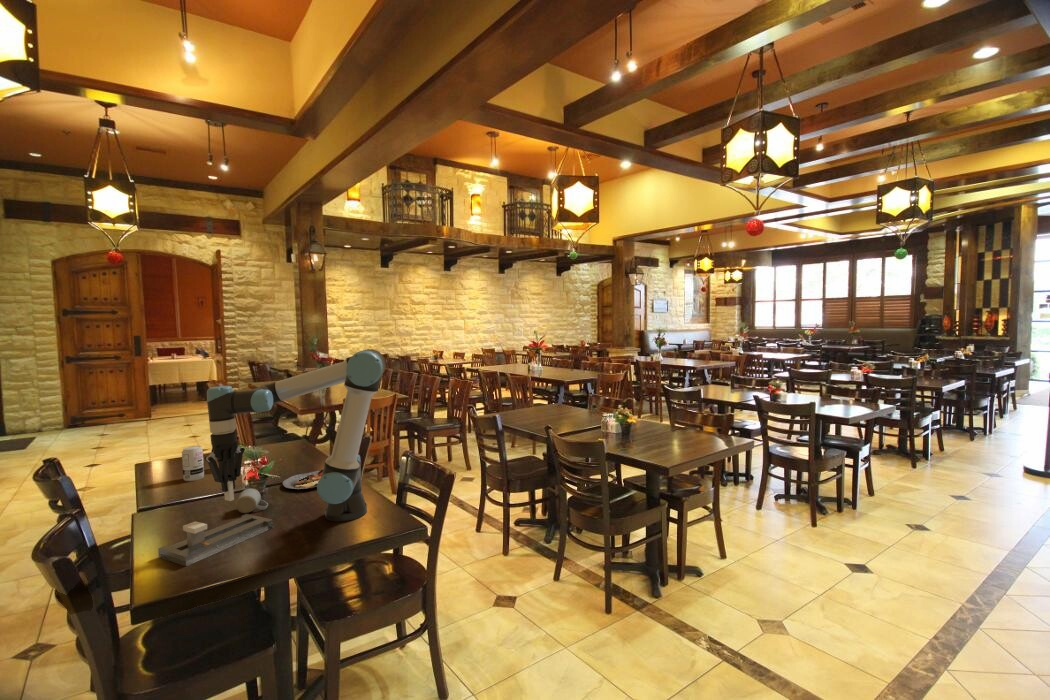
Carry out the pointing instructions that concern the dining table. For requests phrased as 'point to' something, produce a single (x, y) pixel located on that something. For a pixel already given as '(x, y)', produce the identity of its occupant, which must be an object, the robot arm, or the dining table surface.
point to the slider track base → (216, 540)
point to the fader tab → (195, 533)
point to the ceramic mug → (250, 501)
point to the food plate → (298, 485)
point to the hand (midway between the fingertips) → (229, 499)
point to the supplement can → (192, 463)
